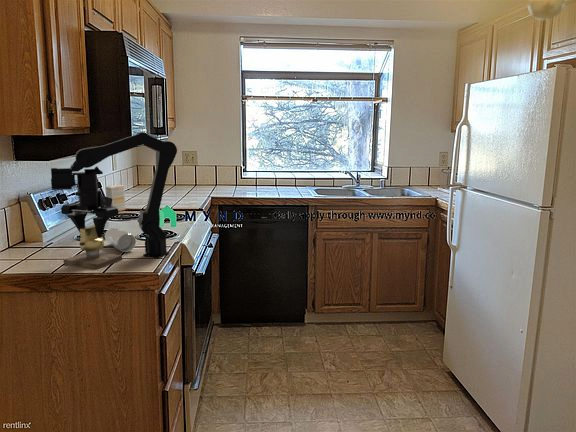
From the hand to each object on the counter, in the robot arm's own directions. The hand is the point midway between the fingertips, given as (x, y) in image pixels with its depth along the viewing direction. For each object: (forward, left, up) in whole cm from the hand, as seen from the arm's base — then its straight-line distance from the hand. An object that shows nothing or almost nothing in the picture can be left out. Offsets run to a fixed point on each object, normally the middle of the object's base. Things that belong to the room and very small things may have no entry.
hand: (91, 236), depth 149 cm
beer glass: (+11, -21, -6) cm, 25 cm away
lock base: (0, 0, -8) cm, 8 cm away
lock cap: (0, +1, -4) cm, 4 cm away
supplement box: (+59, -76, -9) cm, 96 cm away
